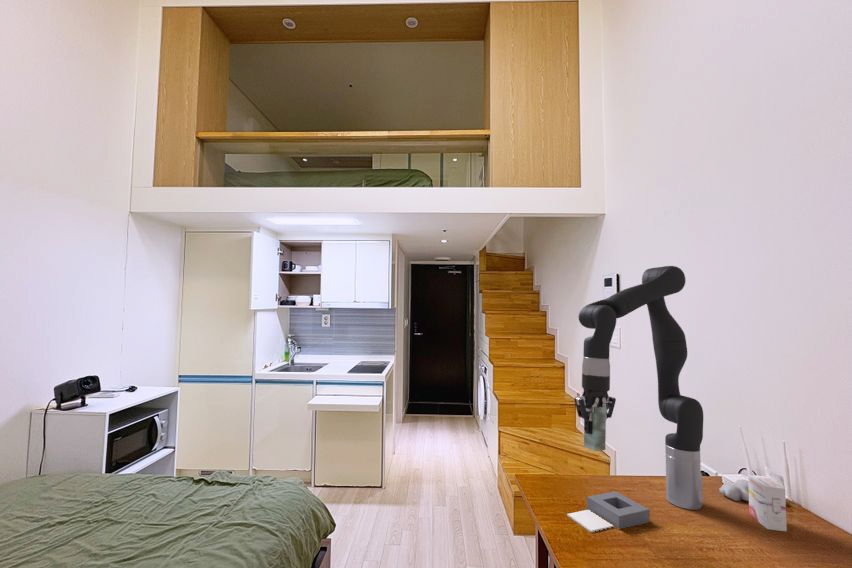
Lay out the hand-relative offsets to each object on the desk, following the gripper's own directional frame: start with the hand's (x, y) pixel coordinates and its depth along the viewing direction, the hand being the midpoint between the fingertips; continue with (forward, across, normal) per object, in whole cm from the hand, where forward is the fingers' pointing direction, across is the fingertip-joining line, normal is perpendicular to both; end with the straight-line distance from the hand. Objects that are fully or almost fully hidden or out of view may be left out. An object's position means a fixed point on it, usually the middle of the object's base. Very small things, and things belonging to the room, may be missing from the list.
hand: (594, 432), depth 110 cm
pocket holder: (+24, -9, 0) cm, 26 cm away
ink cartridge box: (+23, -48, +17) cm, 56 cm away
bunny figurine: (+23, -60, +5) cm, 65 cm away
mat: (+24, +1, 0) cm, 24 cm away
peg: (+4, 0, 0) cm, 4 cm away
